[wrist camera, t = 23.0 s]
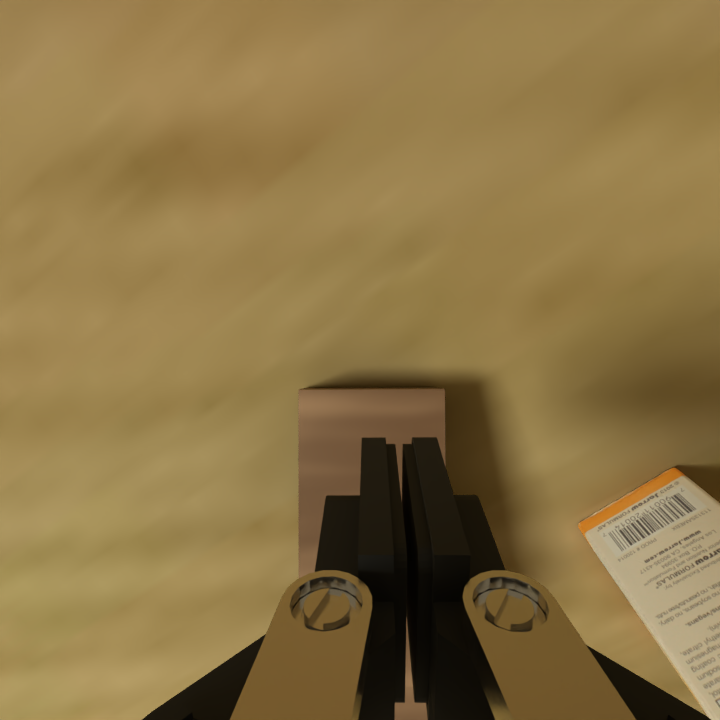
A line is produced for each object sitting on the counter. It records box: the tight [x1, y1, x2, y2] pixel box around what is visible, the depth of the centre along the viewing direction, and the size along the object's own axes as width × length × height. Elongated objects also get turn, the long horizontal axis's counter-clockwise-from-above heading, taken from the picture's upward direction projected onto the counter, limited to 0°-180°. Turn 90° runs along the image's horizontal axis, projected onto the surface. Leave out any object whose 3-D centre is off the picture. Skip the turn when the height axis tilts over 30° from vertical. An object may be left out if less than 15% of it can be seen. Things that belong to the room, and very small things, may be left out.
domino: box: [299, 388, 446, 687], centre depth 18 cm, size 2×5×10 cm
